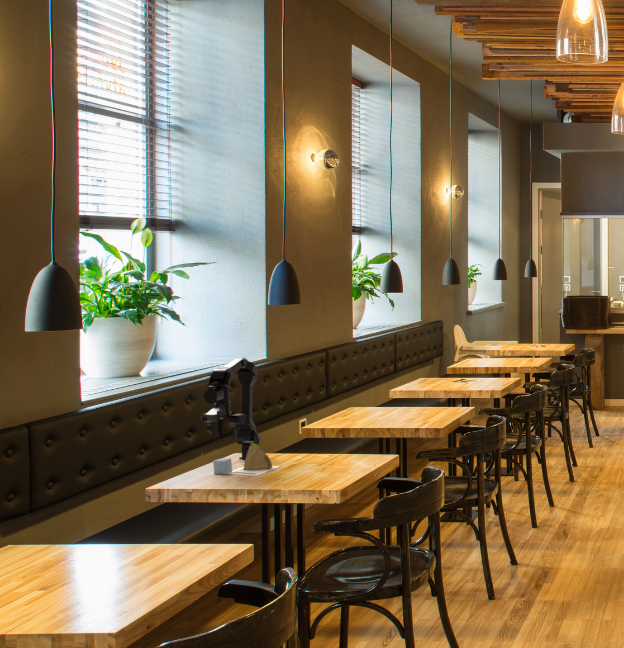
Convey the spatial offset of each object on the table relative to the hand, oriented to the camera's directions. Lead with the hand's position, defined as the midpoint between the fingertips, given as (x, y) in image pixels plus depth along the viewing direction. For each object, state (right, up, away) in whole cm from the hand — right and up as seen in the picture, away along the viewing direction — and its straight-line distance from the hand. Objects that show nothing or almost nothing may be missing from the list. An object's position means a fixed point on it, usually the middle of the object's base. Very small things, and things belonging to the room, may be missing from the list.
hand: (224, 439), depth 321 cm
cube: (0, -12, -7) cm, 14 cm away
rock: (+14, -11, -3) cm, 18 cm away
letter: (+12, -12, -5) cm, 17 cm away
